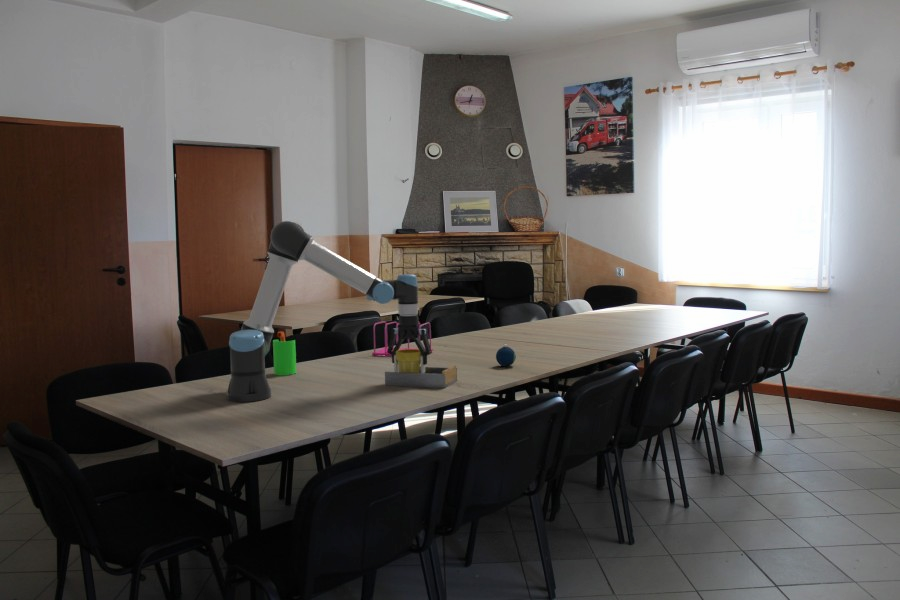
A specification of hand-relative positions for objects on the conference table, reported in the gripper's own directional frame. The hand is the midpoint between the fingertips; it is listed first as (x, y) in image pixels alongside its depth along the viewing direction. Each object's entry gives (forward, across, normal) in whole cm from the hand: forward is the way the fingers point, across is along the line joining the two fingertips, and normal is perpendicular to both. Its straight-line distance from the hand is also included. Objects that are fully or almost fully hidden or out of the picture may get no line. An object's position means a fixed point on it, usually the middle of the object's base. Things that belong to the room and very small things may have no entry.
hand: (409, 372), depth 271 cm
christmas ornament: (+4, -27, -42) cm, 50 cm away
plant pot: (+1, 0, 0) cm, 1 cm away
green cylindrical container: (+4, +58, -4) cm, 59 cm away
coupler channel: (+4, -5, 0) cm, 6 cm away
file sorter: (+4, +30, -64) cm, 70 cm away
